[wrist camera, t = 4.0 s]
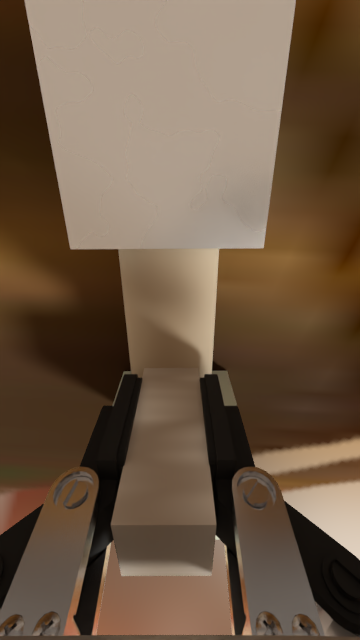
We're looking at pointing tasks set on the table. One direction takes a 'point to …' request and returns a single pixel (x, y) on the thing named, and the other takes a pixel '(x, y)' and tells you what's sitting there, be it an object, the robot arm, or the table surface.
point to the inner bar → (167, 414)
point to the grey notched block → (163, 117)
